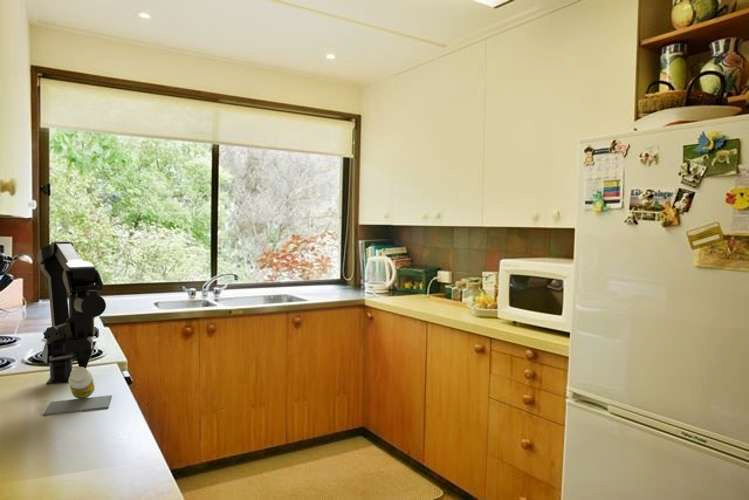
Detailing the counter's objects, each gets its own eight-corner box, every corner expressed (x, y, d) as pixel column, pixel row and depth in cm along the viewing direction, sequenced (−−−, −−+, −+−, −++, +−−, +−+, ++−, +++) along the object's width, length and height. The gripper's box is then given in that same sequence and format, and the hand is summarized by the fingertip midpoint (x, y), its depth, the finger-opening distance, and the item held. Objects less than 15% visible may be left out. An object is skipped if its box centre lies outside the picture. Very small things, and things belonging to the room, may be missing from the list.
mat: (50, 403, 130) (50, 401, 130) (111, 397, 136) (111, 395, 136) (43, 415, 122) (43, 413, 122) (108, 408, 127) (108, 406, 127)
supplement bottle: (93, 378, 138) (90, 362, 131) (95, 396, 135) (92, 380, 128) (70, 383, 135) (66, 367, 128) (72, 402, 132) (67, 385, 126)
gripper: (53, 309, 139) (54, 365, 140) (37, 320, 122) (39, 384, 123) (98, 306, 143) (99, 361, 144) (90, 317, 126) (91, 379, 127)
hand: (82, 370), depth 134 cm, fingers closed
